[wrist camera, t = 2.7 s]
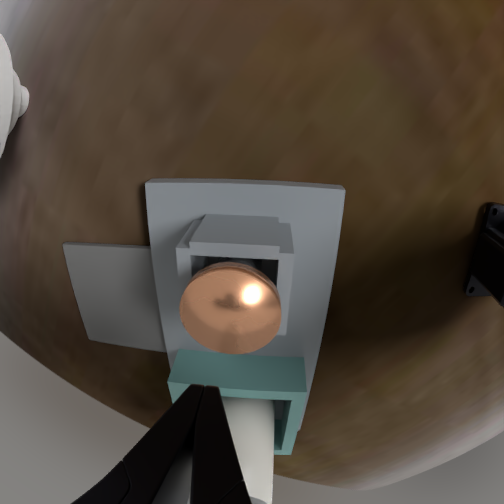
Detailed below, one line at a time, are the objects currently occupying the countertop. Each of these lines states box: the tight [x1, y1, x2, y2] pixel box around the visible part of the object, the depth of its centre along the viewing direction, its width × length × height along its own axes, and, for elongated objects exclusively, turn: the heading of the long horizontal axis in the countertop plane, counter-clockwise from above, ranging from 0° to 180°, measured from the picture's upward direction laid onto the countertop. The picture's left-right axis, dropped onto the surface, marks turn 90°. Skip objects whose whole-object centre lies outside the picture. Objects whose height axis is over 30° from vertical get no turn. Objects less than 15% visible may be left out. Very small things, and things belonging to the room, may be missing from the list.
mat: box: [62, 242, 167, 352], centre depth 19 cm, size 7×8×1 cm
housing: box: [145, 178, 345, 455], centre depth 18 cm, size 10×20×4 cm, turn 178°
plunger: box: [179, 257, 281, 354], centre depth 14 cm, size 4×4×5 cm
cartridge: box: [187, 396, 275, 504], centre depth 17 cm, size 5×5×11 cm
